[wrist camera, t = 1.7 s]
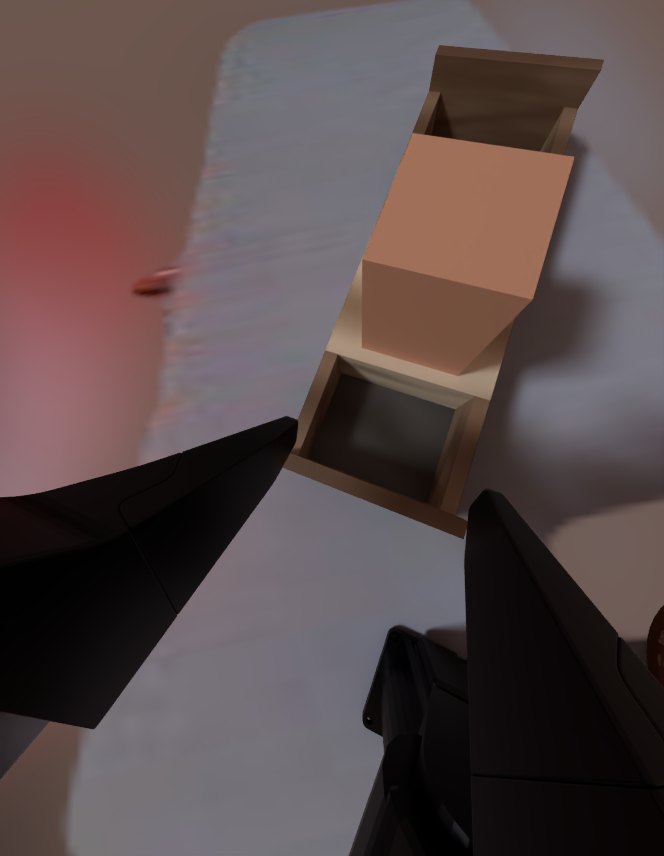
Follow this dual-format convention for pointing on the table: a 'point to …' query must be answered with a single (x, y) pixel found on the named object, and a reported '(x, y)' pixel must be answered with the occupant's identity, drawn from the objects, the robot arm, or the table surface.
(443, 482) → the track
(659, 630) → the food container
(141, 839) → the table surface
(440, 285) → the terracotta block
